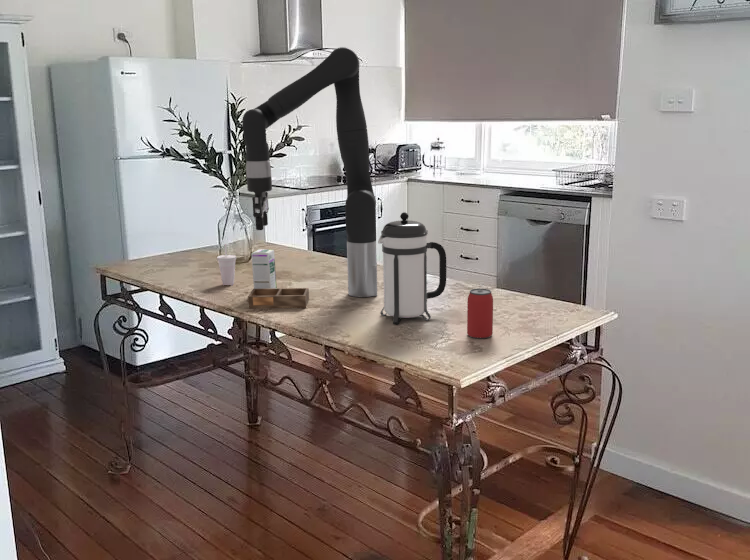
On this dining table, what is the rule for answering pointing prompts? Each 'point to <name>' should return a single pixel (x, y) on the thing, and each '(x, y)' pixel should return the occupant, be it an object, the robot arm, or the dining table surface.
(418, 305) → the coffee press
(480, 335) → the beer can
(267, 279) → the syrup box
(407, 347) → the dining table surface
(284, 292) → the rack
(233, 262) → the smoothie
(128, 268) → the dining table surface
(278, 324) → the dining table surface
